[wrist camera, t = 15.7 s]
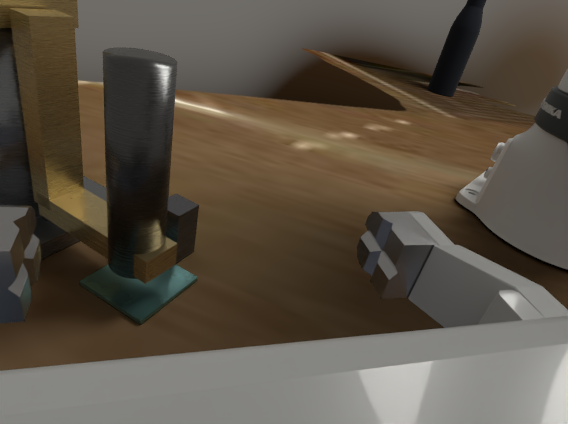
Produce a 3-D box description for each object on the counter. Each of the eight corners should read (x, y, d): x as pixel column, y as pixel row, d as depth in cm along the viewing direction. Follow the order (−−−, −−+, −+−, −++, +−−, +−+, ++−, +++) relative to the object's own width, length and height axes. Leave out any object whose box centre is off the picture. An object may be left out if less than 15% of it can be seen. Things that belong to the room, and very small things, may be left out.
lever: (-43, 186, 27) (-96, -38, 21) (39, 164, 32) (16, -27, 25) (122, 301, 22) (121, 45, 15) (193, 255, 26) (216, 41, 20)
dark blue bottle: (443, 96, 98) (502, -49, 83) (422, 87, 102) (474, -52, 87) (458, 96, 101) (517, -43, 86) (437, 88, 106) (490, -46, 90)
